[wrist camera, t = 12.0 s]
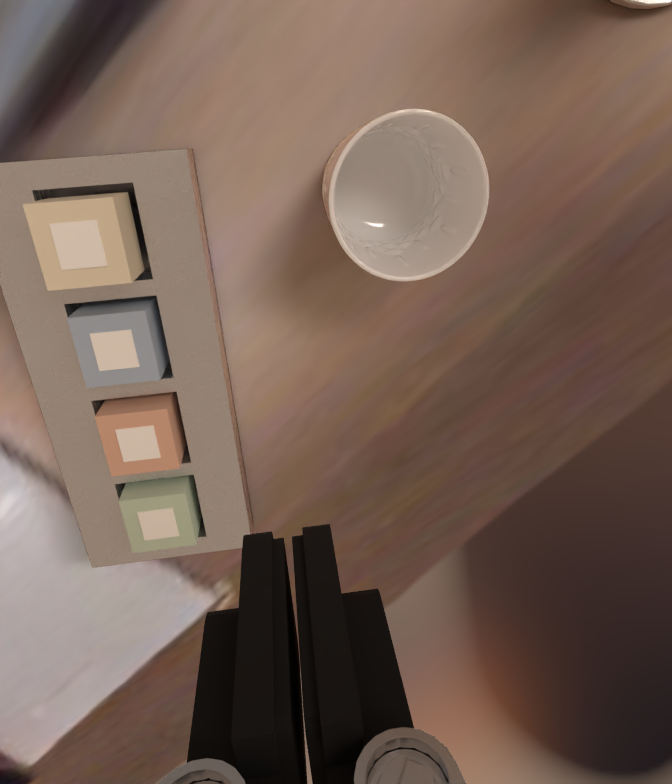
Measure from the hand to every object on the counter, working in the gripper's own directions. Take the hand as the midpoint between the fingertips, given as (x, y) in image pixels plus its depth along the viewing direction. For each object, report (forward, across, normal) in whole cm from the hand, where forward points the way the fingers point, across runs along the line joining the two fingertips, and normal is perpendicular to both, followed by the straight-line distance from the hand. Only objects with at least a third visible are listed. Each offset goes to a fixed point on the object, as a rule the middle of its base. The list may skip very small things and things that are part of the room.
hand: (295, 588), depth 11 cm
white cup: (+29, -7, -5) cm, 31 cm away
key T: (+28, +10, +3) cm, 30 cm away
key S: (+27, +10, -4) cm, 29 cm away
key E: (+28, +10, +16) cm, 34 cm away
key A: (+28, +10, +9) cm, 31 cm away
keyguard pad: (+29, +10, +6) cm, 31 cm away
